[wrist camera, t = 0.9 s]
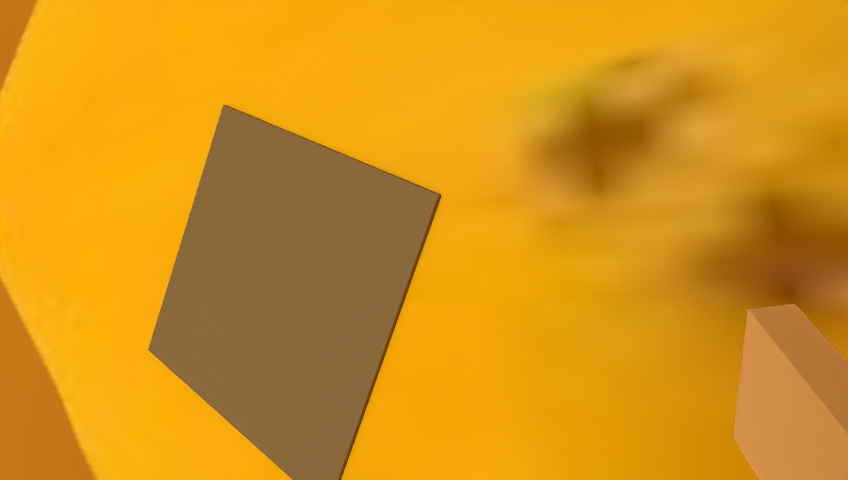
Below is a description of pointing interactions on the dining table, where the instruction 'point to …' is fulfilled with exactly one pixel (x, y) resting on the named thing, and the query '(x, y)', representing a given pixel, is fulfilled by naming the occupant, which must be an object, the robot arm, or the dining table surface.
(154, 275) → the dining table surface
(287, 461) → the placemat
